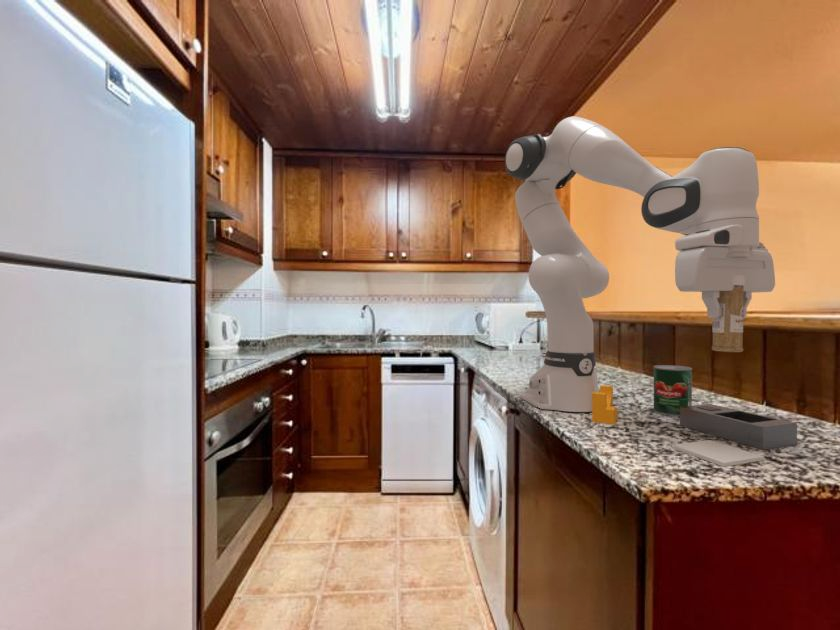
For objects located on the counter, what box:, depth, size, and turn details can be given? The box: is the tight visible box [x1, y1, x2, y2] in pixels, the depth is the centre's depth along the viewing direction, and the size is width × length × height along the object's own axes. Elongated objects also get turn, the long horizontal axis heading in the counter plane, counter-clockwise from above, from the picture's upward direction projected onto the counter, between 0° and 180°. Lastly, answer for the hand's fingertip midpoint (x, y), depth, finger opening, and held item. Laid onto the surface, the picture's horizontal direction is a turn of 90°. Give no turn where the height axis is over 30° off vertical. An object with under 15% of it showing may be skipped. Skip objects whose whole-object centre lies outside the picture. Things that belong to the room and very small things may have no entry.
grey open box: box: [679, 403, 798, 451], centre depth 79 cm, size 16×9×4 cm, turn 17°
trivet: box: [671, 439, 766, 468], centre depth 68 cm, size 9×9×1 cm
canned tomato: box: [653, 364, 693, 417], centre depth 96 cm, size 8×8×11 cm
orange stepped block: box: [591, 384, 619, 425], centre depth 93 cm, size 12×4×6 cm, turn 147°
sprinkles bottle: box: [711, 275, 745, 353], centre depth 71 cm, size 5×5×13 cm
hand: (726, 317), depth 71 cm, fingers closed on sprinkles bottle, 4 cm apart
